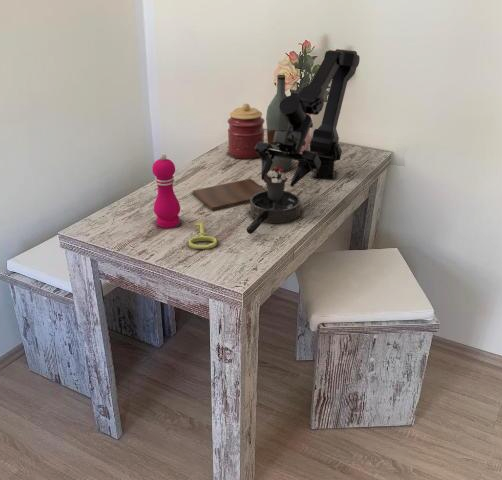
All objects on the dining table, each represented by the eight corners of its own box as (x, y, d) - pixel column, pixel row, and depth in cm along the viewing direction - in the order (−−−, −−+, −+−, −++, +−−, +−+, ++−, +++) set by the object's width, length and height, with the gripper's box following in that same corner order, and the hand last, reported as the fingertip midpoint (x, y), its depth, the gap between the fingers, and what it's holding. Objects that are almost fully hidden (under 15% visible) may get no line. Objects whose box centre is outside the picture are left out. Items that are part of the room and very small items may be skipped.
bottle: (271, 160, 201) (273, 71, 185) (296, 164, 198) (300, 73, 182) (260, 169, 194) (262, 77, 178) (286, 173, 191) (289, 80, 175)
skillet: (256, 200, 173) (256, 188, 171) (303, 205, 170) (303, 192, 168) (245, 221, 161) (245, 208, 159) (295, 226, 158) (296, 213, 156)
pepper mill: (176, 230, 157) (171, 159, 146) (151, 227, 158) (144, 157, 147) (184, 218, 163) (179, 150, 152) (159, 216, 164) (153, 148, 153)
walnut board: (250, 181, 185) (250, 178, 185) (272, 197, 175) (272, 194, 174) (192, 193, 178) (192, 190, 177) (212, 210, 167) (212, 207, 167)
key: (203, 226, 158) (202, 219, 157) (219, 247, 148) (219, 239, 147) (178, 231, 156) (177, 224, 155) (193, 252, 146) (192, 245, 145)
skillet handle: (262, 215, 159) (262, 209, 158) (269, 217, 159) (269, 210, 158) (245, 234, 150) (245, 227, 149) (252, 235, 149) (252, 228, 148)
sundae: (289, 208, 167) (291, 159, 159) (282, 218, 162) (284, 167, 154) (267, 205, 169) (268, 156, 161) (260, 215, 163) (261, 164, 156)
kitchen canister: (237, 145, 215) (237, 97, 206) (269, 150, 211) (270, 101, 201) (221, 156, 205) (220, 106, 196) (255, 161, 201) (255, 110, 191)
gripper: (258, 113, 160) (237, 163, 158) (319, 123, 152) (298, 176, 150) (271, 133, 170) (252, 180, 168) (329, 144, 162) (309, 194, 160)
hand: (276, 182), depth 161 cm, fingers open, 9 cm apart
